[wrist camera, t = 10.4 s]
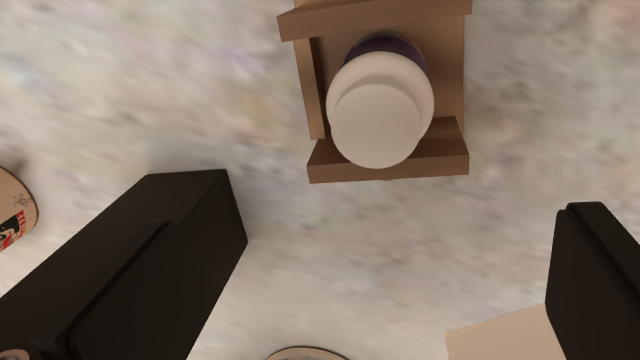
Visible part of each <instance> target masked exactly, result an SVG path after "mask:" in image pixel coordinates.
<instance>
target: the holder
mask: <svg viewBox="0 0 640 360" xmlns="http://www.w3.org/2000/svg"><path fill="white" fill-rule="evenodd" d="M294 4H295V8H294V9H292V10H290V11H288V12H286V13H283V14H281V15H279V16H277V21H278V26H279V31H280V36H281V41H282V42H286V41H292V40H293V45H294V50H295V55H296V61H297V66H298V71H299V77H300V82H301V88H302V93H303V98H304V104H305V109H306V114H307V120H308V125H309V130H310V136H311V140H314V139H318V141H317V143H316V146H315V148H314V150H313V152H312V154H311V157H310V159H309V161H308V163H307V166H306V167H307V172H308V177H309V182H310V184H314V183H331V182H349V181H366V180H383V181H389V180H393V179H400V178H417V177H434V176H451V175H468V174H469V153H468V150H467V147H466V145H465V142H464V139H463V49H464V15H468V14H472V0H294ZM382 31H389V32H396V33H399V34H402V35H404V36H406V37H408V38H409V39H410V40H412V41H413V42H414V43H415V44H416V45H417V46H418V48H419V49H420V51H421V52H422V54H423V56H424V59H425V62H426V66H427V70H428V75H429V79H430V83H431V87H432V91H433V97H434V112H433V117H432V120H431V123H430V125H429V127H428V129H427V131H426V132H425V134H424V135H423V137H422V138H421V139H420V140H419V142H418V144H417V146H416V147H415V149H414V150H413V152H412V153H411V154H410V155H409V156H408V157H407V158H406V159H404V160H403V161H401V162H400V163H398V164H396V165H393V166H390V167H386V168H380V169H373V168H366V167H362V166H359V165H357V164H354V163H353V162H351V161H349V160H348V159H347V158H345V157H344V156H343V155H342V154H341V152H340V151H339V150H338V148H337V147H336V145H335V143H334V141H333V138H332V134H331V126H330V124H329V121H328V117H327V112H326V99H327V94H328V90H329V87H330V85H331V83H332V81H333V79H334V77H335V75H336V73H337V72H338V70H339V68H340V66H341V64H342V63H343V61H344V59H345V57H346V55H347V54H348V52H349V51H350V49H351V48H352V47H353V46H354V45H355V44H356V43H357V42H358V41H359V40H361V39H362V38H364V37H365V36H367V35H370V34H372V33H376V32H382Z"/></svg>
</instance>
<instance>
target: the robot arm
mask: <svg viewBox="0 0 640 360" xmlns="http://www.w3.org/2000/svg"><path fill="white" fill-rule="evenodd" d="M206 308H207V298H206V295H205V292H204V289H203V287H202V284H201V282H200V279H199V277H198V274H197V271H196V269H195V266H194V264H193V261H192V259H191V256H190V253H189V251H188V248H187V246H186V243H185V241H184V238H183V235H182V233H181V230H180V228H179V227H178V226H177V225H174V223H173V222H172V221H170V220H154V221H148V222H146V223H145V224H144V225H143V226H142V227H141V228H140V229H139V230H138V231H137V232H136V233H135V234H134V235H133V236H132V237H131V238H130V239H129V240H128V241H127V242H126V243H125V244H124V245H123V246H122V247H121V248H120V249H119V250H118V251H117V252H116V253H115V254H114V255H113V256H112V257H111V258H110V259H109V260H108V261H107V262H106V263H105V265H104V266H103V267H102V268H101V269H100V270H99V271H98V272H97V273H96V274H95V275H94V276H93V277H92V278H91V279H90V280H89V281H88V282H87V283H86V284H85V285H84V286H83V287H82V288H81V289H80V290H79V291H78V292H77V293H76V294H75V295H74V296H73V297H72V298H71V299H70V300H69V301H68V302H67V303H66V304H65V305H64V306H63V307H62V308H61V309H60V310H59V311H58V312H57V313H56V314H55V315H54V316H53V317H52V318H51V319H50V320H49V321H48V322H47V323H46V324H45V325H44V326H43V327H42V328H41V329H40V330H39V331H38V332H37V333H36V334H35V335H34V336H33V337H32V338H31V339H30V341H31V343H32V344H33V345H34V347H35V348H36V350H37V352H36V353H35V354H34V355H33V356H32V357H30V355H29V354H28V353H27V352H26V351H25V350H20V349H14V350H7V351H4V352H1V353H0V360H178V359H179V357H180V356H181V354H182V352H183V350H184V348H185V347H186V345H187V343H188V341H189V340H190V338H191V336H192V334H193V332H194V331H195V329H196V327H197V325H198V323H199V322H200V320H201V318H202V316H203V315H204V313H205V311H206ZM545 308H546V313H547V316H548V319H549V321H550V323H551V326H552V328H553V330H554V333H555V335H556V337H557V340H558V342H559V344H560V346H561V349H562V351H563V353H564V356H565V358H566V360H640V245H639V244H638V242H637V241H636V240H635V239H634V238H633V237H632V236H631V235H630V233H629V232H628V231H627V230H626V229H625V228H624V227H623V226H622V224H621V223H620V222H619V221H618V220H617V219H616V218H615V217H614V215H613V214H612V213H611V212H610V211H609V210H608V209H607V207H606V206H605V205H604V204H603V203H601V202H598V201H597V202H574V203H569V204H568V205H567V206H566V209H564V210H559V211H558V212H557V216H556V224H555V231H554V238H553V246H552V253H551V260H550V267H549V275H548V282H547V289H546V297H545ZM267 360H346V359H344V358H342V357H340V356H338V355H336V354H333V353H330V352H327V351H324V350H319V349H314V348H291V349H285V350H282V351H280V352H277V353H275V354H273V355H272V356H270V357H269V358H268V359H267Z"/></svg>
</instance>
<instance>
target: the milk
mask: <svg viewBox="0 0 640 360" xmlns="http://www.w3.org/2000/svg"><path fill="white" fill-rule="evenodd" d="M445 338H446V344H447V349H448V355H449V360H566V358H565V356H564V353H563V351H562V349H561V346H560V344H559V342H558V340H557V337H556V335H555V333H554V330H553V328H552V326H551V323H550V321H549V319H548V316H547V313H546V308H545V303H544V304H540V305H537V306H534V307H531V308H527V309H524V310H521V311H517V312H514V313H511V314H508V315H504V316H501V317H498V318H495V319H491V320H488V321H485V322H481V323H478V324H475V325H472V326H468V327H465V328H462V329H459V330H455V331H452V332H449V333H446V334H445Z"/></svg>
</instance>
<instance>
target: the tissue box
mask: <svg viewBox="0 0 640 360" xmlns="http://www.w3.org/2000/svg"><path fill="white" fill-rule="evenodd" d="M154 220H170V221H172V222H173V223H174V225H177V226H178V227H179V228H180V230H181V233H182V235H183V238H184V241H185V243H186V246H187V248H188V251H189V253H190V256H191V259H192V261H193V264H194V266H195V269H196V271H197V274H198V277H199V279H200V282H201V284H202V287H203V289H204V292H205V295H206V298H207V308H206V311H205V313H204V315H203V316H202V318H201V320H200V322H199V323H198V325H197V327H196V329H195V331H194V332H193V334H192V336H191V338H190V340H189V341H188V343H187V345H186V347H185V348H184V350H183V352H182V354H181V356H180V357H179V359H178V360H186V359H187V357H188V355H189V353H190V351H191V349H192V347H193V346H194V344H195V342H196V340H197V338H198V336H199V334H200V332H201V331H202V329H203V327H204V325H205V323H206V321H207V319H208V317H209V316H210V314H211V312H212V310H213V308H214V306H215V304H216V302H217V300H218V299H219V297H220V295H221V293H222V291H223V289H224V287H225V285H226V284H227V282H228V280H229V278H230V276H231V274H232V272H233V270H234V269H235V267H236V265H237V263H238V261H239V259H240V257H241V255H242V254H243V252H244V250H245V248H246V246H247V243H248V241H247V238H246V235H245V232H244V228H243V225H242V222H241V219H240V215H239V212H238V209H237V206H236V202H235V199H234V196H233V193H232V189H231V186H230V183H229V180H228V176H227V173H226V170H210V171H195V172H181V173H166V174H153V175H145V176H144V177H143V178H142V179H140V180H139V181H138V182H137V183H136V184H134V185H133V186H132V187H131V188H130V189H129V190H127V191H126V192H125V193H124V194H123V195H121V196H120V197H119V198H118V199H117V200H116V201H114V202H113V203H112V204H111V205H110V206H108V207H107V208H106V209H105V210H104V211H103V212H101V213H100V214H99V215H98V216H97V217H95V218H94V219H93V220H92V221H91V222H90V223H88V224H87V225H86V226H85V227H84V228H82V229H81V230H80V231H79V232H78V233H77V234H75V235H74V236H73V237H72V238H71V239H69V240H68V241H67V242H66V243H65V244H64V245H62V246H61V247H60V248H59V249H58V250H56V251H55V252H54V253H53V254H52V255H51V256H49V257H48V258H47V259H46V260H45V261H43V262H42V263H41V264H40V265H39V266H38V267H36V268H35V269H34V270H33V271H32V272H30V273H29V274H28V275H27V276H26V277H25V278H23V279H22V280H21V281H20V282H19V283H18V284H16V285H15V286H14V287H13V288H12V289H10V290H9V291H8V292H7V293H6V294H5V295H3V296H2V297H1V298H0V353H1V352H4V351H7V350H14V349H20V350H25V351H26V352H27V353H28V354H29V355H30V357H32V356H33V355H34V354H35V353H36V352H37V350H36V348H35V347H34V345H33V344H32V343H31V341H30V339H31V338H32V337H33V336H34V335H35V334H36V333H37V332H38V331H39V330H40V329H41V328H42V327H43V326H44V325H45V324H46V323H47V322H48V321H49V320H50V319H51V318H52V317H53V316H54V315H55V314H56V313H57V312H58V311H59V310H60V309H61V308H62V307H63V306H64V305H65V304H66V303H67V302H68V301H69V300H70V299H71V298H72V297H73V296H74V295H75V294H76V293H77V292H78V291H79V290H80V289H81V288H82V287H83V286H84V285H85V284H86V283H87V282H88V281H89V280H90V279H91V278H92V277H93V276H94V275H95V274H96V273H97V272H98V271H99V270H100V269H101V268H102V267H103V266H104V265H105V263H106V262H107V261H108V260H109V259H110V258H111V257H112V256H113V255H114V254H115V253H116V252H117V251H118V250H119V249H120V248H121V247H122V246H123V245H124V244H125V243H126V242H127V241H128V240H129V239H130V238H131V237H132V236H133V235H134V234H135V233H136V232H137V231H138V230H139V229H140V228H141V227H142V226H143V225H144V224H145V223H146V222H148V221H154Z"/></svg>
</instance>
